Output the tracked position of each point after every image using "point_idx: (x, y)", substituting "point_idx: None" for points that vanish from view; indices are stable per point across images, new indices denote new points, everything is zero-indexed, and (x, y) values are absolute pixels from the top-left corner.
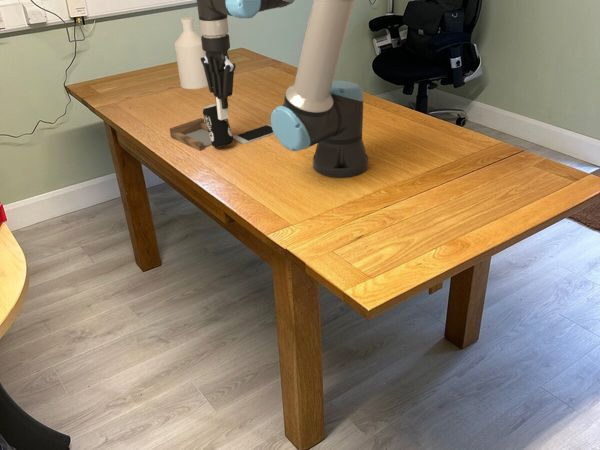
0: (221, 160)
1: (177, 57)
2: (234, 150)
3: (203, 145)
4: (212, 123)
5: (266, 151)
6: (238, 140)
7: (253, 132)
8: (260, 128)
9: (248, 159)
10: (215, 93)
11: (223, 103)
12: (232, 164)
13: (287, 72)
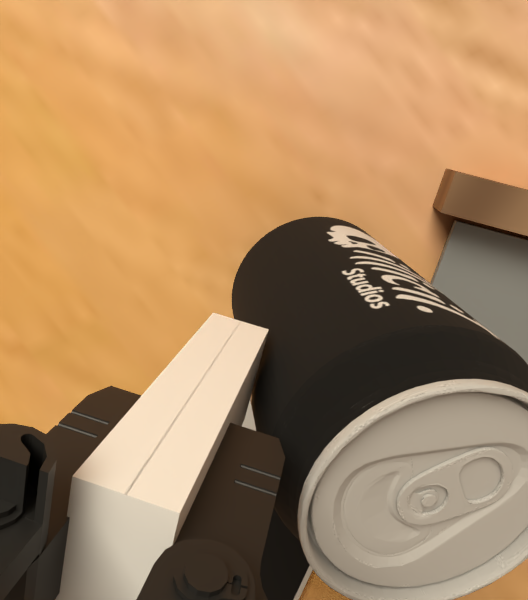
0: (198, 107)
1: None
2: (226, 282)
3: (437, 208)
4: (332, 280)
5: (58, 346)
6: None
7: (279, 532)
8: (278, 588)
9: (65, 206)
10: (161, 594)
11: (60, 431)
12: (95, 91)
13: None
